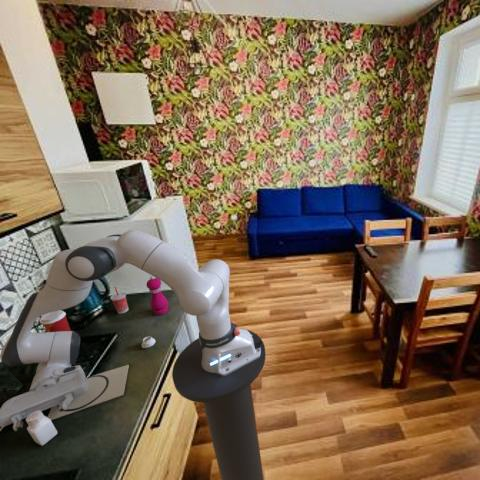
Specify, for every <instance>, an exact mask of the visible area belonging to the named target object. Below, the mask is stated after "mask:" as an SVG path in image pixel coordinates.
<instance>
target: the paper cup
mask: <svg viewBox="0 0 480 480" xmlns="http://www.w3.org/2000/svg"><path fill="white" fill-rule="evenodd" d="M40 324H42V326H43V327H44V329H45V332H60V331H72V330H71V327H70V324H69V321H68V319H67V313H66V312H65V311H64V310H58V311H54V312H50V313H47V314H44V315H41V316H40Z"/></svg>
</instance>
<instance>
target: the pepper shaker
mask: <svg viewBox="0 0 480 480" xmlns="http://www.w3.org/2000/svg"><path fill="white" fill-rule="evenodd" d="M52 421H53V420H50V419H49V418H48V416H46V415H44V413H43V411H39V410H38V411H35V412H33V413H31V414H30V415H29V416H28V417H27V418H25V422H26V424H27V425H28V426H27V428H26V430H27V432H28V433H29V435H30V436H31V438H32V439H33V441H34V442H35V443H36V444H38V445H39V446H44V445H46V444H47V443H48V442H50V440H52V439H53V438H55V436H57V435H58V430H57V428H56V427H55V425H54V423H53V422H52Z"/></svg>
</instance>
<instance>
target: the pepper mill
mask: <svg viewBox="0 0 480 480" xmlns="http://www.w3.org/2000/svg"><path fill="white" fill-rule="evenodd" d="M146 288H147V289H148V291H149V294H151V301H150V308H151V309H152V311H153V314H154V315H156V316H161V315H164V314H166V313H167V312H168V311H169V306H168V305H169V302H168V300H167V297H166V296H164V295H163V293H162V281H161V280H159V279H158V278H156V277H154V276H152V275H150V277H149V279H148V280H147V282H146Z"/></svg>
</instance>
